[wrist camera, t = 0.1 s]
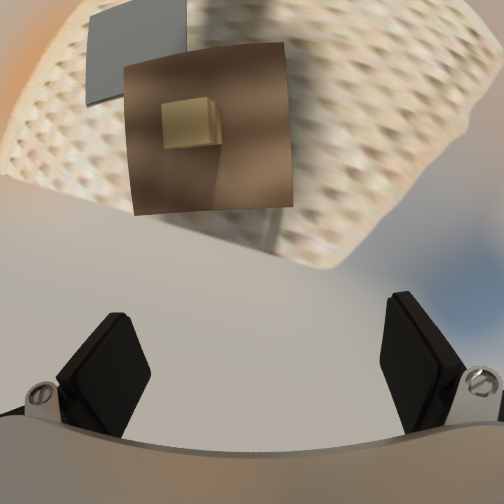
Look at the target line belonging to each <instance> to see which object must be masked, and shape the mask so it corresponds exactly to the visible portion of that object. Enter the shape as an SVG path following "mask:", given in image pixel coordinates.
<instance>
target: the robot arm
mask: <svg viewBox="0 0 504 504" xmlns="http://www.w3.org/2000/svg"><path fill="white" fill-rule="evenodd" d="M380 366H381V369H382V371H383V374H384V377H385V379H386V382H387V384H388V387H389V390H390V392H391V395H392V398H393V401H394V403H395V406H396V409H397V412H398V415H399V417H400V420H401V423H402V426H403V429H404V432H405V435H402V436H397V437H393V438H388V439H383V440H378V441H372V442H366V443H360V444H354V445H348V446H340V447H333V448H324V449H315V450H303V451H288V452H287V451H286V452H221V451H205V450H193V449H184V448H176V447H168V446H161V445H155V444H148V443H142V442H136V441H131V440H127V439H122V438H121V437H122V435H123V433H124V430H125V428H126V427H127V425H128V422H129V420H130V418H131V416H132V414H133V412H134V409H135V408H136V406H137V404H138V402H139V400H140V398H141V395H142V394H143V392H144V389H145V387H146V385H147V383H148V381H149V379H150V377H151V370H150V367H149V365H148V363H147V360H146V358H145V355H144V353H143V350H142V348H141V345H140V343H139V340H138V338H137V335H136V332H135V330H134V327H133V324H132V321H131V319H130V317H128V316H127V315H126V314H125V313H110V314H108V316H107V317H106V318H105V319H104V320H103V321H102V322H101V323H100V325H99V326H98V327H97V328H96V329H95V331H94V332H93V333H92V334H91V335H90V336H89V337H88V339H87V340H86V341H85V342H84V343H83V344H82V346H81V347H80V348H79V349H78V350H77V352H76V353H75V354H74V355H73V356H72V358H71V359H70V360H69V361H68V363H67V364H66V365H65V366H64V367H63V369H62V370H61V371H60V372H59V374H58V375H57V376H56V379H57V381H58V382H59V384H60V385H59V386H58V387H57V386H56V385H55V384H54V383H52V382H47V381H46V382H41V383H38V384H36V385H35V386H33V387H32V388H31V389H30V390H29V391H28V393H27V395H26V398H25V405H24V406H22V407H19V408H16V409H14V410H11V411H9V412H6V413H3V414H0V504H504V390H503V381H502V379H501V377H500V376H499V374H498V373H497V372H496V371H494V370H493V369H491V368H488V367H485V366H473V367H471V368H469V369H467V368H466V367H465V366H464V364H463V362H462V361H461V360H460V358H459V357H458V355H457V354H456V352H455V351H454V350H453V348H452V347H451V345H450V344H449V342H448V341H447V340H446V338H445V337H444V335H443V334H442V333H441V331H440V330H439V329H438V327H437V326H436V325H435V324H434V323H433V321H432V320H431V319H430V317H429V316H428V315H427V313H426V312H425V311H424V309H423V308H422V307H421V306H420V304H419V303H418V302H417V300H416V299H415V298H414V297H413V295H412V294H411V293H410V292H409V291H404V292H396V293H393V294H392V297H391V298H388V300H387V307H386V316H385V324H384V333H383V339H382V346H381V353H380Z"/></svg>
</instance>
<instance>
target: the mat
mask: <svg viewBox="0 0 504 504" xmlns="http://www.w3.org/2000/svg"><path fill="white" fill-rule="evenodd" d="M184 52H187V0H132V1H129V2H126V3H123V4H121V5H118V6H115V7H112V8H110V9H107V10H105V11H102V12H100V13H97V14H95V15H93V16H90V21H89V31H88V42H87V57H86V105H88V104H91V103H94V102H98V101H101V100H104V99H107V98H111V97H114V96H118V95H122V94H124V67H126V66H129V65H133V64H136V63H140V62H144V61H148V60H152V59H156V58H160V57H165V56H169V55H174V54H179V53H184Z"/></svg>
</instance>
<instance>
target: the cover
mask: <svg viewBox="0 0 504 504" xmlns="http://www.w3.org/2000/svg"><path fill="white" fill-rule="evenodd" d="M124 115H125V133H126V147H127V158H128V169H129V178H130V187H131V195H132V202H133V210H134V216H139V215H151V214H164V213H178V212H193V211H210V210H228V209H250V208H276V207H293V181H292V156H291V136H290V118H289V103H288V88H287V75H286V63H285V52H284V42H278V43H257V44H244V45H233V46H224V47H216V48H209V49H202V50H196V51H190V52H184V53H179V54H174V55H169V56H165V57H160V58H156V59H152V60H148V61H144V62H140V63H136V64H133V65H129V66H126V67H124Z"/></svg>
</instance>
